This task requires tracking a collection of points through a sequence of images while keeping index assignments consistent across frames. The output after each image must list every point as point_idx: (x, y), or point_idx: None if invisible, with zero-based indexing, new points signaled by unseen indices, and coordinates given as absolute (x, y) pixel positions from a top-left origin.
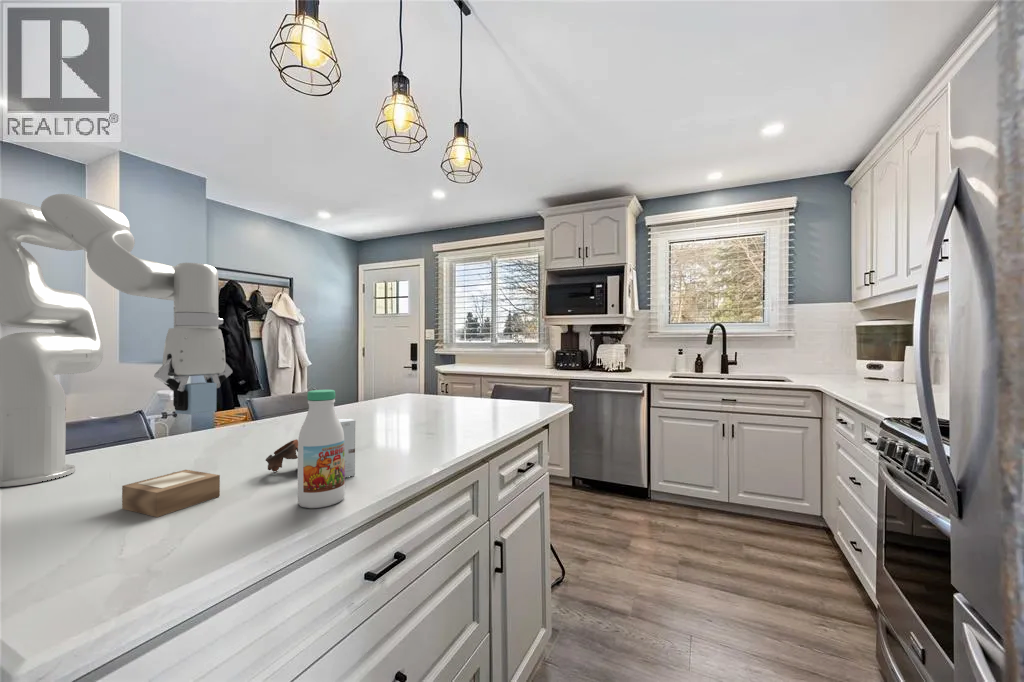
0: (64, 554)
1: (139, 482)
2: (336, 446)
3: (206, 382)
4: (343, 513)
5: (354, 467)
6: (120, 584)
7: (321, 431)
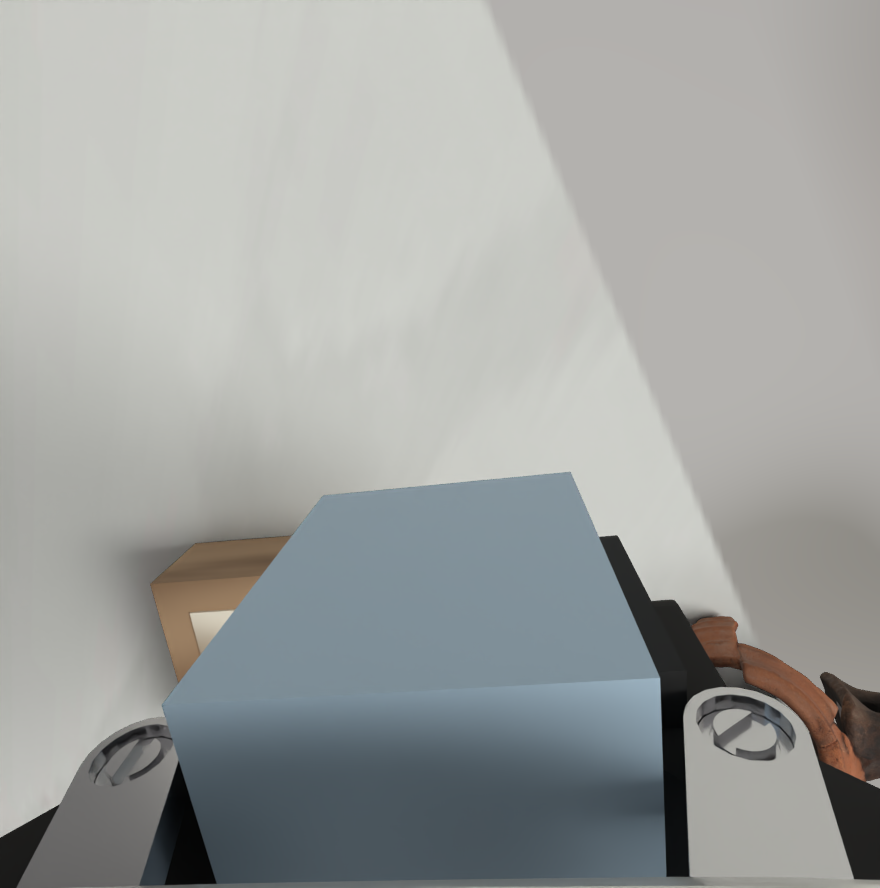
0: (52, 752)
1: (199, 595)
2: None
3: (687, 796)
4: None
5: None
6: None
7: None
